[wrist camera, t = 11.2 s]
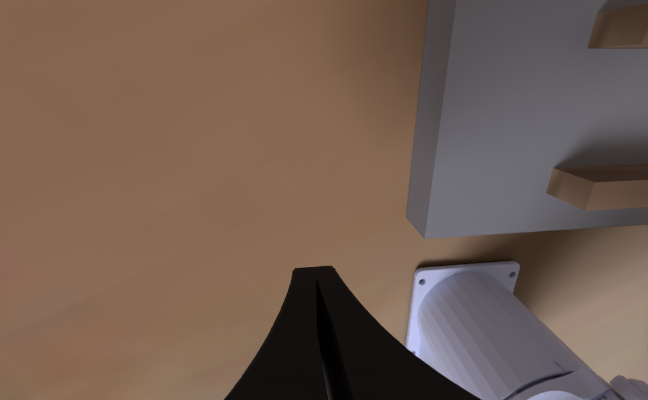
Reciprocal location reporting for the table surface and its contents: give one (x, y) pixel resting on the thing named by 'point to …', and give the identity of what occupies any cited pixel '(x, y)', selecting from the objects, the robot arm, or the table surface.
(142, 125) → the table surface
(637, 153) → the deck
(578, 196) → the tunnel walls
